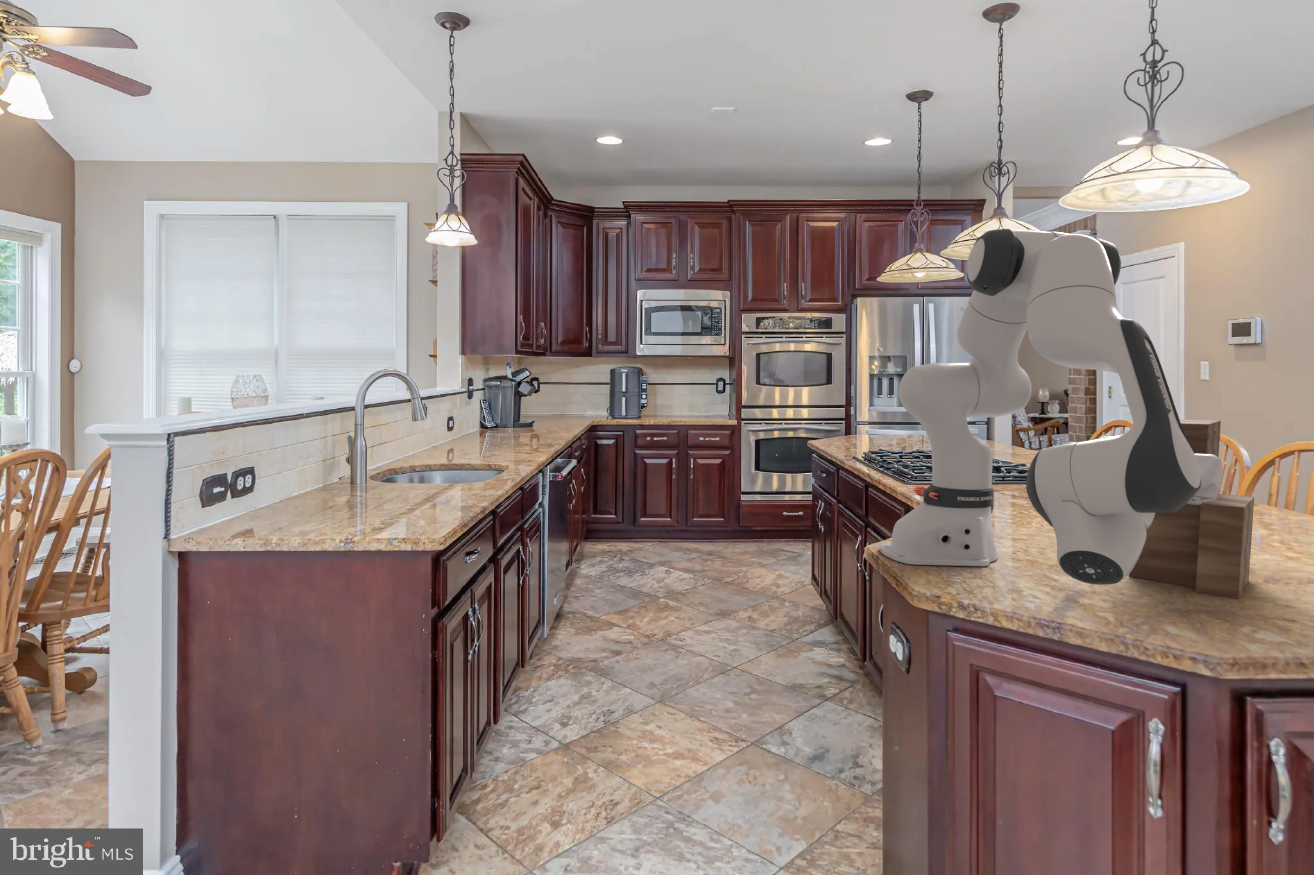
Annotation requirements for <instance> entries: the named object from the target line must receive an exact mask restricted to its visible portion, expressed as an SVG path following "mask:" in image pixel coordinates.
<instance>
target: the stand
mask: <svg viewBox="0 0 1314 875" xmlns="http://www.w3.org/2000/svg"><path fill="white" fill-rule="evenodd" d="M1179 420H1180V422H1181V425H1182V428H1183V430H1184V433H1185V435H1186V437H1187V439H1188V442H1189V444H1190V446H1191V448H1192V450H1193V452H1194V454H1212V455H1215V456H1217V457H1218V458H1219V456H1220V454H1219V452H1220V442H1221V440H1220V438H1221V426H1222V425H1221V421H1222V420H1213V419H1180V418H1179ZM1254 506H1255V496H1250V495H1249V496H1247V495H1238V494H1237V495H1236V494H1235V495H1234V494H1227V493H1225V494H1224V493H1218V497H1217V499H1216V500H1215V501H1210V502H1205V503H1201V505H1191V504H1188V503H1186V504H1185V505H1184V506H1183V507H1182V508H1180V509H1179V510H1178V511H1176V512H1171V513H1155V516H1154V519H1153V522H1152V523H1151V525H1150V527H1149V528H1148V529H1147V530H1146V532H1147V537H1146V541H1145V544H1144V547H1143V550H1142V552H1141V554H1140V557H1139V559H1138V561H1137V563H1136V565H1135V566H1134V568H1133V569H1132V571H1131V572H1130V574H1129V575H1128V577H1130V578H1135V577H1137V579H1141V580H1147V579H1149V581H1154V582H1159V581H1160V583H1165V582H1167V583H1166V584H1172V585H1177V584H1178V586H1184V587H1190V588H1195V592H1196V593H1202V594H1207V595H1213V596H1219V597H1226V598H1231V599H1237V600H1238V599H1239V598H1240V597H1241V595H1242V593H1243V592H1244V590H1245V588H1246V587H1247V585H1248V583H1249V581H1250V567H1251V550H1252V540H1253V539H1252V537H1253V536H1252V535H1253V533H1252V532H1253V520H1254Z"/></svg>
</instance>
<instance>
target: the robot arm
mask: <svg viewBox="0 0 1314 875" xmlns="http://www.w3.org/2000/svg"><path fill="white" fill-rule="evenodd" d="M1121 267H1122V257H1121V255H1120V252H1119V249H1118V247H1117V246H1116V245H1115V244H1114V243H1112V242H1109V241H1108V240H1104V239H1101V238H1099V237H1094V236H1093V237H1092V236H1088V235H1085V234H1079V233H1077V234H1072V233H1066V232H1059V231H1053V230H1052V231H1051V230H1049V231H1040V230H1012V229H1010V228H995V229H990V230H987V231H985V232H984V233H983V234H981V235H980V236H979V237H978V238H977V239H976V240H975V242H974V244H973V246H972V248H971V250H970V252H969V255H968V258H967V262H966V279H967V282H968V284H969V285H970V287H971V289H972V290H973V291H972V293H971V296H970V297H969V300H968V303H967V305H966V307H965V309H964V312H963V315H962V317H961V320H960V323H959V325H958V328H957V332H956V333H957V334H956V335H957V340H958V341H957V342H958V343H959V345H960V347H961V348H962V350H964V351H965V352H966V353H967V354H968V355H969V356H971V359H970V360H969V361H967V362H966V361H965V362H931V363H926V364H921V365H917V366H912V367H910V368H909V369H908V370H906V372H905V374H903V376H902V378H901V380H900V382H899V387H898V395H899V400H900V402H901V404H902V407H903V408H904V410H905V411H906V412H907V413H909V414H910V415H911V416H913V417H914V418H915V420H917V421H918V422H919V423H920V425H921V426H922V428H923V430H924V431H925V433H926V435H927V438H928V440H929V444H930V450H931V461H932V462H931V464H932V466H931V468H932V469H931V471H932V475H931V478H932V479H931V484H930V485H929V486H928V487H925V486H921V485H916V486H915V487H914V488H913V493H914V494H915V495H916V496H919V497H923V498H922V499H923V500H922V501H923V502H921V503H920V504H919V505H917V506H916V507H914V509H912V510H911V511H910V512H908V513H907V514H905V515H904V516H902V517H901V518H899V519H898V520H897V521H896V522H895V524H894V526H893V530H892V535H891V542H885V543H881V544H880V547H879V551H880V552H881V553H882V555H884V556H886V557H888V558H889V559H891V560H892V561H895V562H899V563H904V564H906V565H919V566H921V565H922V566H924V565H925V566H957V567H958V566H959V567H961V566H963V567H988V566H989V565H990V563H992V562H994V561H997V560H998V559H999V555H998V550H997V548H996V547H997V546H996V542H995V536H994V530H993V517H992V516H993V515H992V514H993V511H994V503H995V501H994V500H995V496H994V495H995V488H994V487H993V486H992V482H993V481H992V480H993V478H992V477H993V451H992V448H991V447H990V445H989V444H988V443H987V442H985V441H984V439H981V438H980V437H978V436H975V434H973V433H972V432H971V430H970V428H969V425H968V418H998V417H1004V416H1008V415H1013V414H1018V413H1019V412H1022V411H1023V409H1025V408H1026V406H1027V405H1028V403H1029V402H1030V399H1031V396H1032V389H1033V388H1032V381H1031V379H1030V376H1029V375H1028V373H1027V372H1026V370H1024V368H1022V366H1020V364H1019V359H1018V358H1019V356H1018V355H1019V350H1020V347H1021V344H1022V341H1023V339H1024V337H1025V335H1026V332H1027V336H1028V340H1029V342H1030V345H1031V346H1032V348H1033V349H1034V350H1035V352H1036V353H1037V354H1038V355H1040V357H1042V358H1044V359H1045V360H1047V361H1049V362H1051V363H1054V364H1055V365H1059V366H1062V367H1066V368H1070V369H1075V370H1076V369H1077V370H1092V371H1093V370H1094V371H1104V372H1109V373H1115V374H1118V376H1119V379H1120V382H1121V386H1122V388H1123V392H1124V395H1125V396H1124V397H1125V400H1126V402H1127V406H1128V410H1129V413H1130V415H1131V420H1132V422H1133V423H1132V424H1133V425H1132V426H1131V428H1130V429H1129V430H1127V431H1126V432H1124V433H1121V434H1118V435H1113V436H1098V438H1096V439H1091V440H1083V441H1082V440H1081V441H1077V442H1070V443H1065V444H1059V445H1054V446H1049V447H1048V446H1047V447H1043V448H1041V449H1040V450H1039V451H1038V452H1037V453H1036V455H1034V457H1033V459H1032V461H1031V463H1030V465H1029V467H1028V471H1027V475H1026V480H1025V488H1026V494H1027V496H1028V499H1029V501H1030V503H1031V504H1032V505H1031V506H1032V507H1033V508H1034V510H1035V511H1036V512H1037V513H1038V514H1039V516H1041V517H1042V518H1043V520H1045V522H1046V523H1047V524H1049V525H1050V527H1051V528H1052V529H1053V531H1054V533H1055V534H1054V535H1055V540H1056V558H1057V563H1058V565H1059V567H1060V568H1061V570H1062V572H1064V573H1066V575H1067V576H1069V577H1071V578H1072V579H1074V580H1077V581H1080V582H1081V583H1085V584H1090V585H1097V586H1100V585H1103V586H1106V585H1115V584H1118V583H1120V582H1122V581H1123V580H1125V579H1126V578H1127V577H1129V574H1130V572H1131V571H1132V569H1133V568H1134V566H1135V565H1136V563H1137V561H1138V559H1139V557H1140V554H1141V552H1142V550H1143V547H1144V544H1145V541H1146V537H1147V532H1146V530H1147V529H1148V528H1149V527H1150V525H1151V523H1152V522H1153V519H1154V516H1155V513H1171V512H1176V511H1178V510H1179V509H1180V508H1182V507H1183V506H1184V505H1185V504H1186V503H1188V504H1191V505H1201V503H1205V502H1210V501H1215V500H1216V499H1217V497H1218V494H1220V488H1219V486H1220V484H1221V481H1222V479H1223V462H1222V459H1221V458H1219V457H1217V456H1215V455H1212V454H1194V452H1193V450H1192V448H1191V446H1190V444H1189V442H1188V439H1187V437H1186V435H1185V433H1184V430H1183V428H1182V425H1181V422H1180V420H1179V419H1180V417H1179V414H1178V412H1177V408H1176V405H1175V402H1174V400H1173V396H1172V393H1171V390H1170V387H1169V384H1168V380H1167V377H1166V375H1165V373H1164V369H1163V367H1162V364H1161V361H1160V359H1159V356H1158V354H1157V351H1156V350H1157V349H1156V348H1155V346H1154V343H1153V341H1152V340H1151V338H1150V336H1149V334H1148V333H1147V331H1146V330H1145V329H1144V328H1143V326H1141V324H1140V323H1139V322H1138V321H1137V320H1135V319H1133V318H1131V319H1130V318H1126V317H1123V316H1122V315H1121V313H1120V312H1119V309H1118V306H1117V295H1116V287H1115V286H1116V284H1117V282H1118V279H1119V277H1120V273H1121Z"/></svg>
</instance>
